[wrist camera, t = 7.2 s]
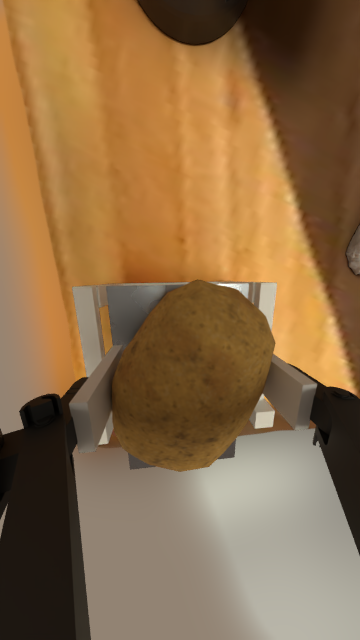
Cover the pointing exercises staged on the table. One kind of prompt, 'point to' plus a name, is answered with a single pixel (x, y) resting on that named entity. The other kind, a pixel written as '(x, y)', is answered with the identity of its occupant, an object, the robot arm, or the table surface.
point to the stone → (354, 252)
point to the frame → (96, 295)
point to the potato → (191, 376)
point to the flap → (130, 314)
